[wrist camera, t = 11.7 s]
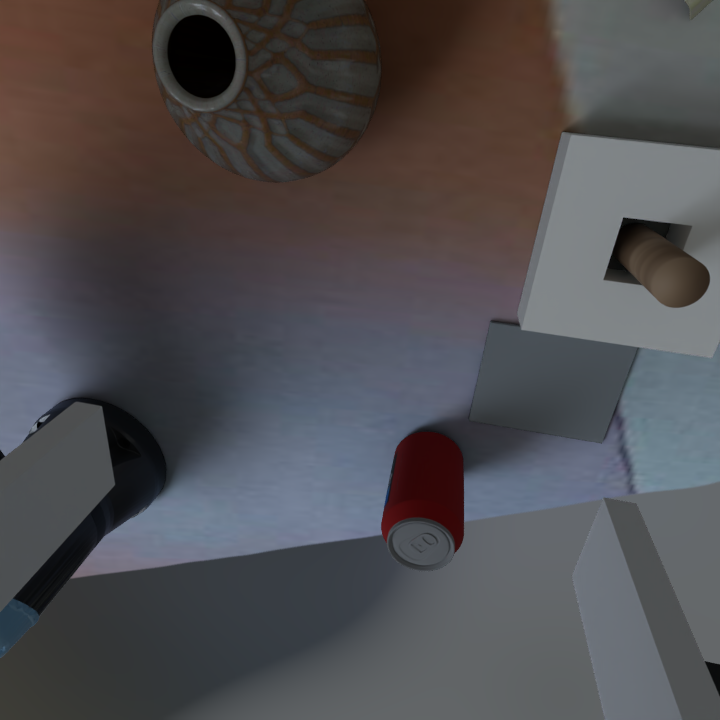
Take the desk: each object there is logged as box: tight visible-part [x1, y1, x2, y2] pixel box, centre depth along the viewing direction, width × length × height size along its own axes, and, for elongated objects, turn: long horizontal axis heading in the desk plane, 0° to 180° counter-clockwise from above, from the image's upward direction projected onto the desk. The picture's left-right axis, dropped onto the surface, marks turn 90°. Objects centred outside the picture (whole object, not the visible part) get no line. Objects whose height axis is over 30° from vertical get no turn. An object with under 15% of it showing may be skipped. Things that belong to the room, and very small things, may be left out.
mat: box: [469, 321, 638, 443], centre depth 45 cm, size 12×10×1 cm
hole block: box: [517, 132, 720, 358], centre depth 38 cm, size 14×14×4 cm
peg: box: [612, 223, 710, 308], centre depth 35 cm, size 3×3×10 cm
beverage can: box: [381, 432, 464, 571], centre depth 46 cm, size 7×7×12 cm
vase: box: [152, 0, 382, 183], centre depth 30 cm, size 13×13×18 cm
